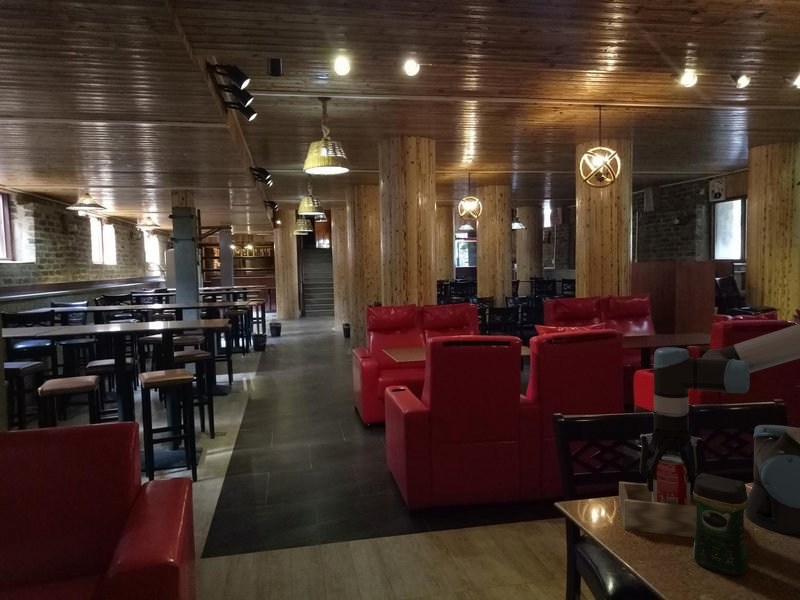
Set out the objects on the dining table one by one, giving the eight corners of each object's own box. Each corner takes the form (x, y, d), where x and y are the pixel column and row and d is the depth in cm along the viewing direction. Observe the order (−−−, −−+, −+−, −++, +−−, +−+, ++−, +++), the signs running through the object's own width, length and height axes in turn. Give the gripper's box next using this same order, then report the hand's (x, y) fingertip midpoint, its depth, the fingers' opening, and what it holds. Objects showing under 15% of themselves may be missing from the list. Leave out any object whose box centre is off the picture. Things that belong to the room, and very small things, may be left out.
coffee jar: (751, 565, 111) (752, 478, 110) (741, 581, 105) (742, 489, 104) (700, 549, 117) (700, 466, 116) (688, 563, 112) (688, 477, 111)
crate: (714, 517, 132) (714, 489, 132) (729, 541, 121) (729, 510, 120) (619, 507, 138) (619, 481, 138) (624, 529, 127) (624, 500, 127)
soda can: (691, 519, 125) (692, 465, 124) (658, 517, 127) (659, 463, 126) (682, 506, 132) (682, 454, 131) (651, 504, 134) (651, 453, 133)
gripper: (712, 410, 129) (711, 503, 130) (625, 406, 134) (625, 495, 136) (721, 418, 122) (720, 517, 123) (629, 414, 127) (629, 508, 128)
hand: (670, 505), depth 129 cm, fingers closed on soda can, 6 cm apart
